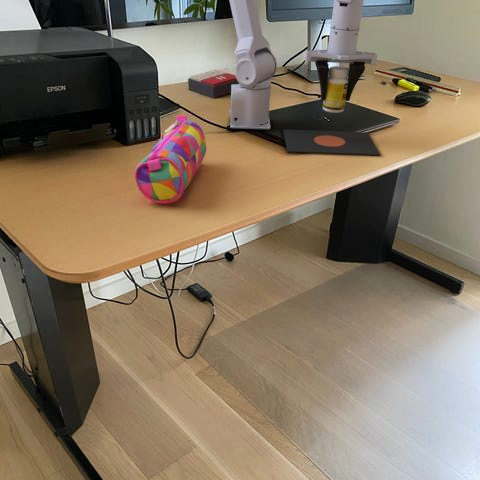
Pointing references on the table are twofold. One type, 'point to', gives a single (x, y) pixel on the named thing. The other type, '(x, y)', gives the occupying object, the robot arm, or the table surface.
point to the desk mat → (329, 142)
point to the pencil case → (172, 162)
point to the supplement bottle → (336, 89)
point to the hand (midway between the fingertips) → (334, 99)
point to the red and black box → (213, 82)
